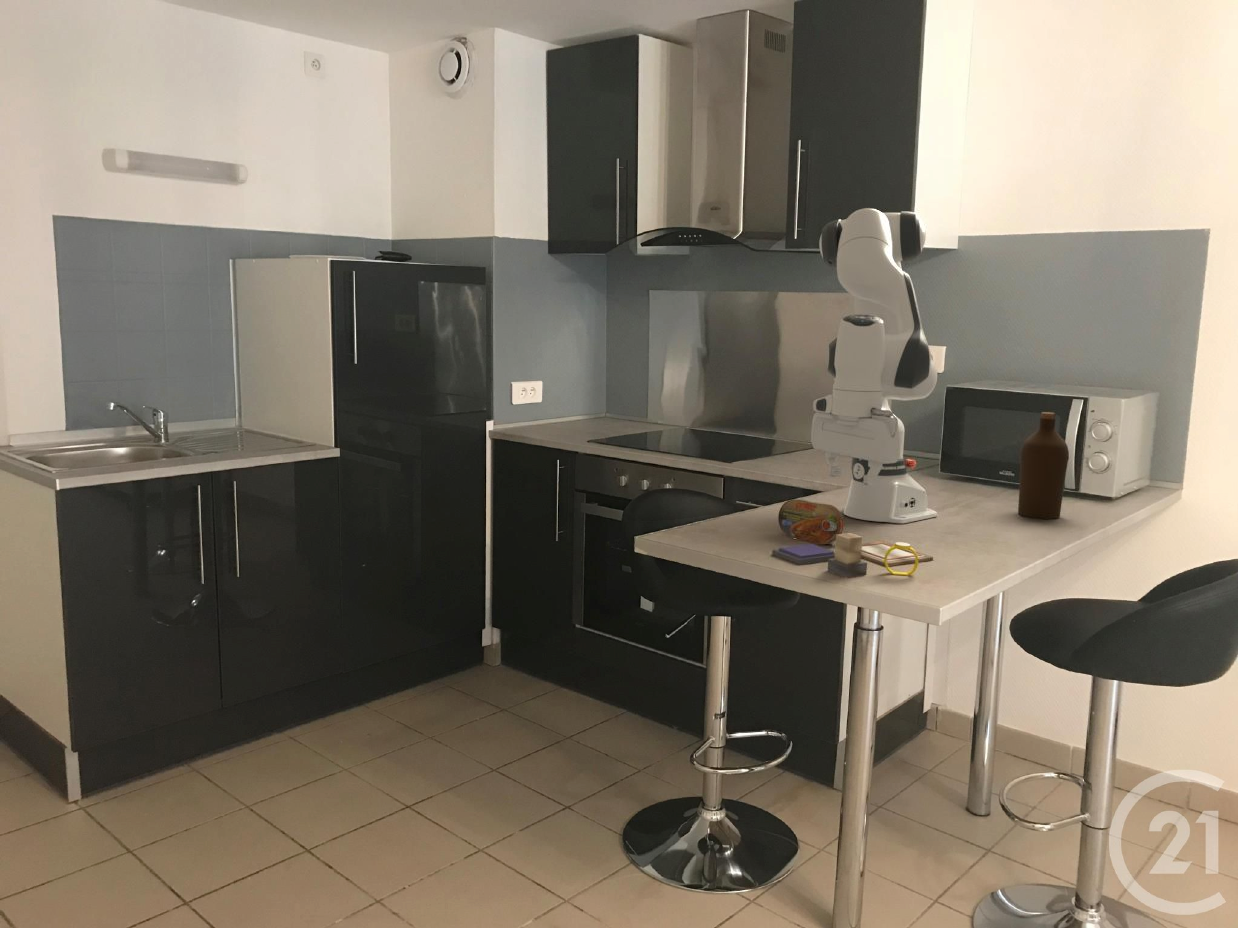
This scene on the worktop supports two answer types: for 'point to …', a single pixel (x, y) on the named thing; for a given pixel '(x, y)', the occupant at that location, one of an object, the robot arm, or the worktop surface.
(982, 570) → the worktop surface
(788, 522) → the tin
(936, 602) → the worktop surface
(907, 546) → the watch
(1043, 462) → the olive oil
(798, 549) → the ink pad
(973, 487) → the worktop surface
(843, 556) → the stamp
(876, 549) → the board
